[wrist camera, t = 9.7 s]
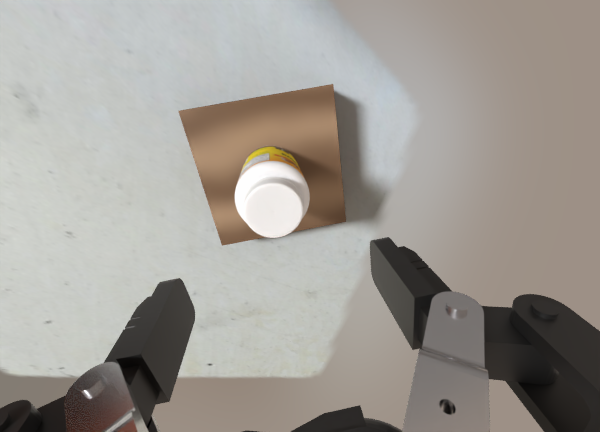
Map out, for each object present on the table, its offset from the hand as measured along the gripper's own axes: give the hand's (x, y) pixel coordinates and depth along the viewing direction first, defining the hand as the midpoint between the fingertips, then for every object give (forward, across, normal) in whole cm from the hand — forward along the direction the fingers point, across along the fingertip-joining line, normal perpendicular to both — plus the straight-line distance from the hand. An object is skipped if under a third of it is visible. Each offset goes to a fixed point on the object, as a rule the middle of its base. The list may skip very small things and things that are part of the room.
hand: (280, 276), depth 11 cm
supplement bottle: (+17, 0, 0) cm, 17 cm away
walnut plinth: (+21, 0, 0) cm, 21 cm away
